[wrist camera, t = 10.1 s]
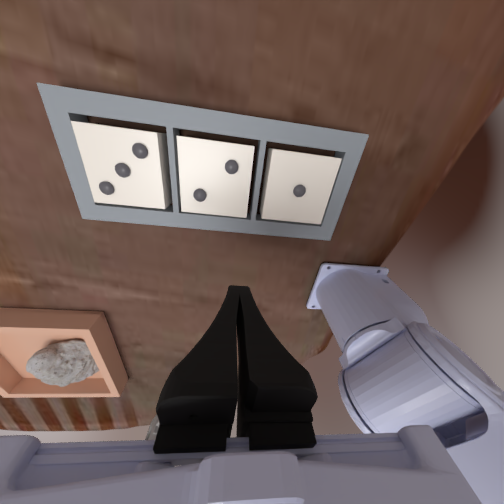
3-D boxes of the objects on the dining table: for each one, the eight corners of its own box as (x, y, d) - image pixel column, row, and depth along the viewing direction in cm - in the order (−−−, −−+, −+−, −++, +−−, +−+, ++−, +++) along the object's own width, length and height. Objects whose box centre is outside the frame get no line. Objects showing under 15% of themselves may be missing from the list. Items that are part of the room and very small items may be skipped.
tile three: (167, 133, 17) (156, 132, 14) (173, 201, 20) (164, 209, 17) (93, 123, 16) (68, 120, 14) (110, 195, 19) (93, 202, 17)
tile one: (329, 156, 18) (342, 158, 16) (312, 215, 21) (321, 225, 19) (268, 147, 18) (272, 149, 15) (259, 210, 21) (261, 219, 18)
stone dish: (103, 311, 27) (88, 329, 25) (128, 378, 36) (120, 396, 34) (-45, 305, 25) (-77, 324, 23) (21, 377, 34) (3, 397, 32)
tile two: (252, 145, 17) (254, 146, 15) (245, 209, 20) (246, 218, 18) (184, 136, 17) (175, 135, 14) (187, 203, 20) (180, 212, 17)
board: (356, 135, 18) (369, 134, 16) (323, 232, 23) (330, 240, 21) (59, 88, 15) (36, 82, 13) (96, 211, 20) (82, 218, 18)
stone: (72, 395, 32) (-6, 386, 26) (85, 364, 36) (19, 350, 29) (115, 379, 30) (43, 366, 24) (125, 349, 34) (64, 330, 27)
